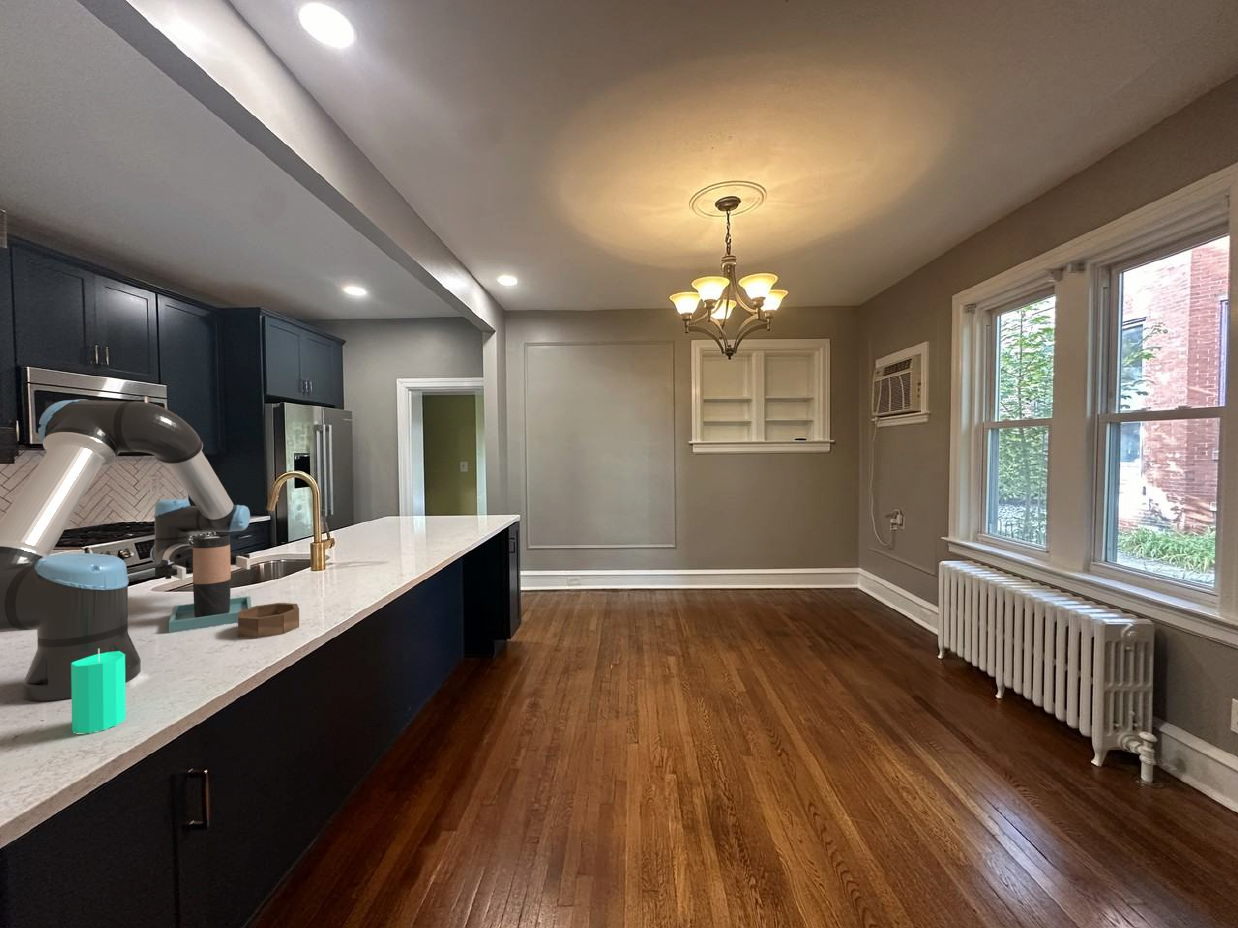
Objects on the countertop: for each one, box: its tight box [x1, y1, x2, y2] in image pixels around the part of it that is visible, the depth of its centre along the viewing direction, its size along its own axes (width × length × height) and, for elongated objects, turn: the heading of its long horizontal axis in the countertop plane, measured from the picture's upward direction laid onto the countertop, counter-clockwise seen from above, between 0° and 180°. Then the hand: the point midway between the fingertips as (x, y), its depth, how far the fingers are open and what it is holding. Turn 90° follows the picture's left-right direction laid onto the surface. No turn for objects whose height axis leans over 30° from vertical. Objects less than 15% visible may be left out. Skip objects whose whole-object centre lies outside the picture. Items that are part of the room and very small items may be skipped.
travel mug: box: [192, 533, 232, 618], centre depth 133 cm, size 8×8×20 cm
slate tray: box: [168, 595, 253, 634], centre depth 133 cm, size 16×16×2 cm
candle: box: [71, 649, 127, 733], centre depth 81 cm, size 6×6×12 cm
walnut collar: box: [237, 602, 300, 639], centre depth 125 cm, size 12×12×4 cm
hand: (217, 568), depth 131 cm, fingers open, 13 cm apart
